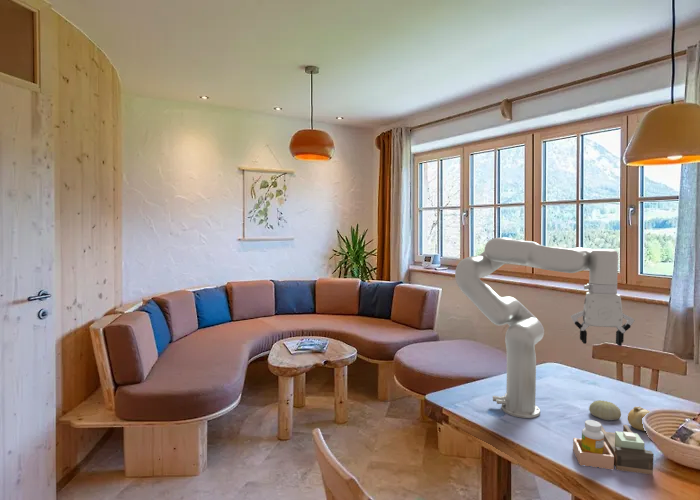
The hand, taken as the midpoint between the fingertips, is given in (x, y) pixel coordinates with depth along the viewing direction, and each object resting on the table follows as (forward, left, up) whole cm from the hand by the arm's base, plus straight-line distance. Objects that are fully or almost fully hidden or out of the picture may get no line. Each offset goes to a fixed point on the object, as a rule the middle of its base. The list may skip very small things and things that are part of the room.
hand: (601, 343), depth 134 cm
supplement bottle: (-6, -18, -28) cm, 34 cm away
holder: (-6, -18, -28) cm, 34 cm away
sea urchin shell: (+5, +13, -29) cm, 32 cm away
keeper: (+3, -18, -27) cm, 32 cm away
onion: (+14, +6, -29) cm, 32 cm away
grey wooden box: (+3, -12, -28) cm, 31 cm away
